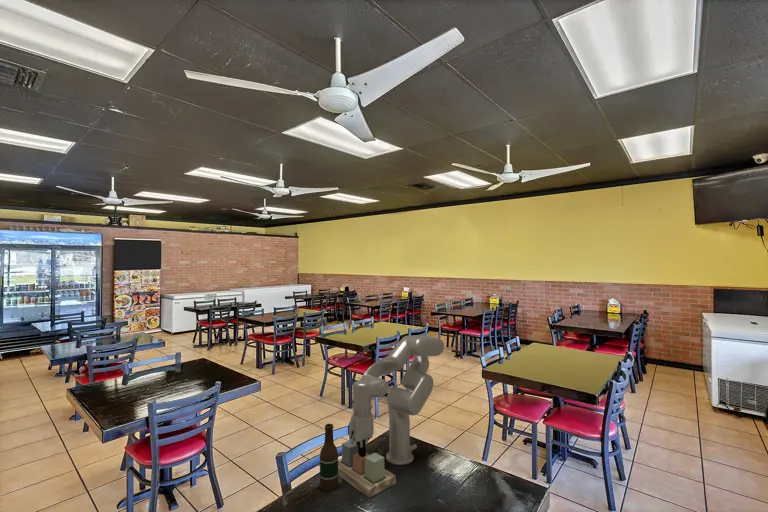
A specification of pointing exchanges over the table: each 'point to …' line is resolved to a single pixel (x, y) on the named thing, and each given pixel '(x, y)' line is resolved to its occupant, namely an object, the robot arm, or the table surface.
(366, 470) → the sage key
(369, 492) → the birch board
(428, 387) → the robot arm
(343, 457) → the slate key
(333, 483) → the beer bottle
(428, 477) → the table surface
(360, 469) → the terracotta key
